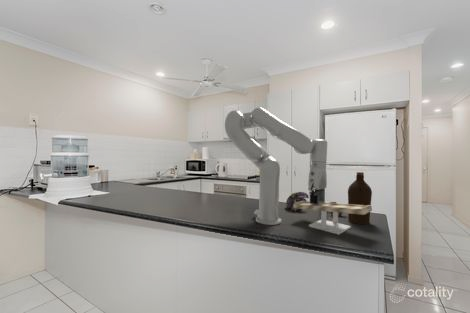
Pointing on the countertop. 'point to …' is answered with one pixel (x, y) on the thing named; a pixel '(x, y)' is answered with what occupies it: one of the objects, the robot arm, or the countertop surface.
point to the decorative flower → (295, 200)
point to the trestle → (330, 224)
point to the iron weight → (318, 198)
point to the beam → (335, 207)
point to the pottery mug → (338, 212)
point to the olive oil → (359, 198)
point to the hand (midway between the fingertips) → (316, 202)
